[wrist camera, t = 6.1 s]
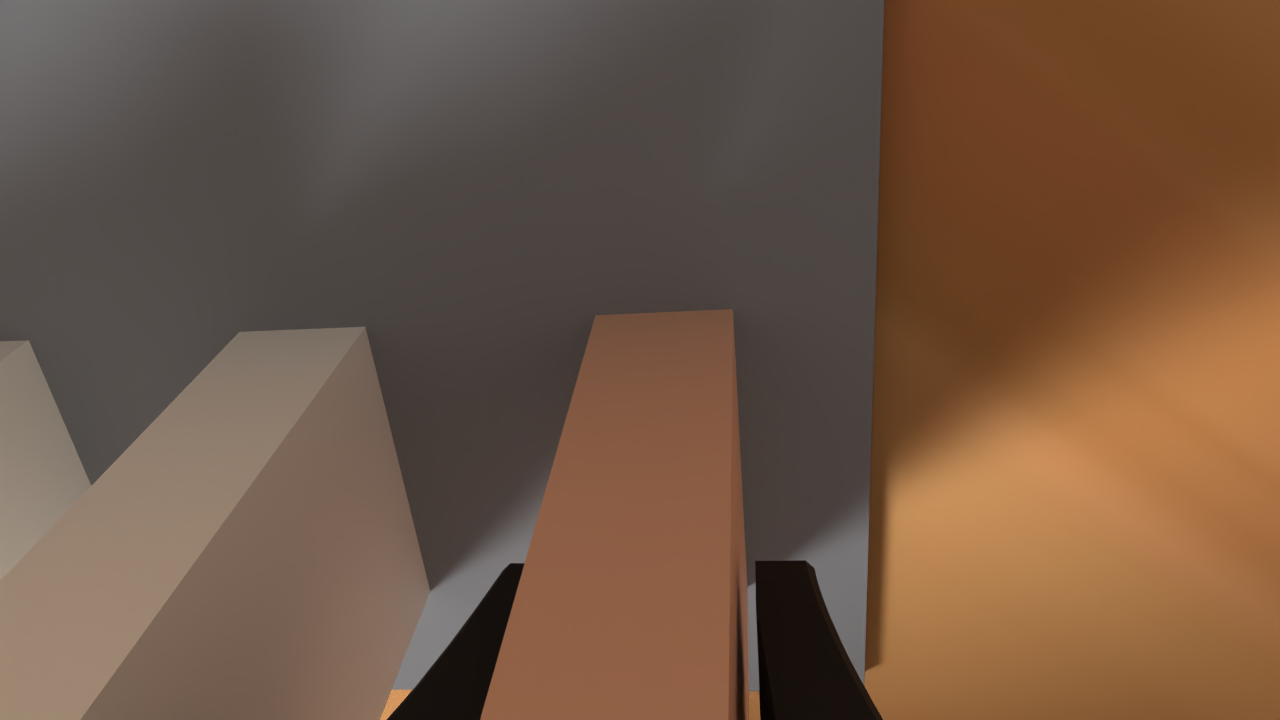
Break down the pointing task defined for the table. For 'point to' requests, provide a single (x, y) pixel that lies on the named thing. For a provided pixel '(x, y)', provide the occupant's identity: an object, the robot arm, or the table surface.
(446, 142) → the mat
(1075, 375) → the table surface
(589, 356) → the domino
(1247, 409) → the table surface
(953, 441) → the table surface
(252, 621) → the domino
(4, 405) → the domino
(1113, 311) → the table surface
